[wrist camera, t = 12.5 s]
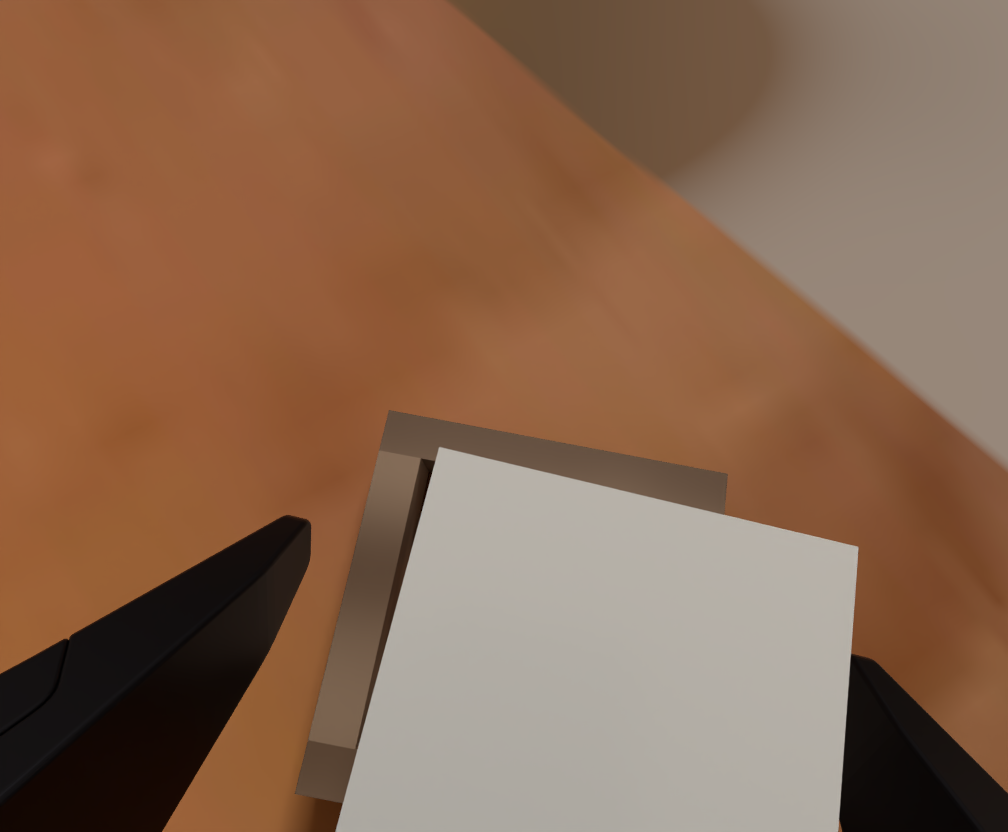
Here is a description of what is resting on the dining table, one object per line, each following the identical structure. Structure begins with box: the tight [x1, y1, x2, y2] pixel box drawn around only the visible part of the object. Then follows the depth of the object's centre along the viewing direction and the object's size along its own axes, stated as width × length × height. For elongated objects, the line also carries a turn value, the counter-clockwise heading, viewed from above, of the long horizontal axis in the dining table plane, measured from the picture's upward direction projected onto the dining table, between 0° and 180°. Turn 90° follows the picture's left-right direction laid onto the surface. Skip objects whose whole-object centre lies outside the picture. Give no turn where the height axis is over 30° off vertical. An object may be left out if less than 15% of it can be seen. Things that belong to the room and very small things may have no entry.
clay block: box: [335, 447, 858, 832], centre depth 11 cm, size 4×4×12 cm
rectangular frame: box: [295, 410, 728, 803], centre depth 16 cm, size 10×10×2 cm
